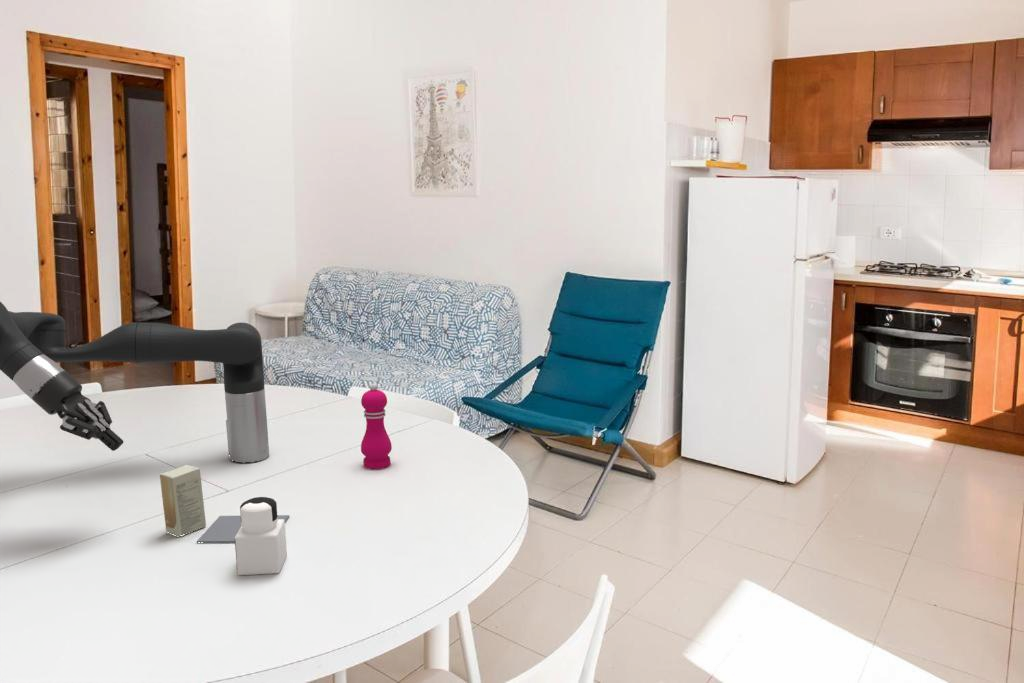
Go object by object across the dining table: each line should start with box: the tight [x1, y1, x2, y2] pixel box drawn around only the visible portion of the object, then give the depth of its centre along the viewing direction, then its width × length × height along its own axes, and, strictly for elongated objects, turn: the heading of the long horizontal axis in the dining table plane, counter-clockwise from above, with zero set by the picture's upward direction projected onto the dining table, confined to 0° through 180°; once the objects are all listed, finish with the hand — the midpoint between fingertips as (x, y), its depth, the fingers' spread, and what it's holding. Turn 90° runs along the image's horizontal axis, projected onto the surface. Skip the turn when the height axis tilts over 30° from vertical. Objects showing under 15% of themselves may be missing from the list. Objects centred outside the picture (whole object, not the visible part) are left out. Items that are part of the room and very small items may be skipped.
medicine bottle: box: [234, 496, 288, 576], centre depth 141 cm, size 7×7×12 cm
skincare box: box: [159, 464, 207, 537], centre depth 157 cm, size 6×4×12 cm
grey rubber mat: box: [196, 514, 290, 544], centre depth 158 cm, size 14×12×1 cm
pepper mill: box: [360, 383, 393, 470], centre depth 192 cm, size 7×7×20 cm
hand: (118, 446), depth 154 cm, fingers closed
